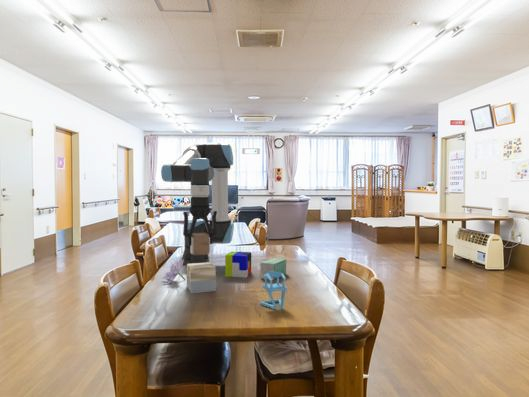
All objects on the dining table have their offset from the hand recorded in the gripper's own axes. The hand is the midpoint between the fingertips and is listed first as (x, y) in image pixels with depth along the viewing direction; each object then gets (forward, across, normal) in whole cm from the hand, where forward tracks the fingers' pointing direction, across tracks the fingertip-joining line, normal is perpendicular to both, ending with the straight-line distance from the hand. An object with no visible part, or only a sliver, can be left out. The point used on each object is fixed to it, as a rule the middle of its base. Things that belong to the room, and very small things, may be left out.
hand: (200, 252), depth 154 cm
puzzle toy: (+15, +22, +18) cm, 32 cm away
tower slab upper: (+10, 0, 0) cm, 10 cm away
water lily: (+15, -8, +17) cm, 24 cm away
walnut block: (0, 0, 0) cm, 0 cm away
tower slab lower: (+15, 0, 0) cm, 15 cm away
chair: (+15, +20, -31) cm, 40 cm away
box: (+15, +37, +10) cm, 41 cm away
